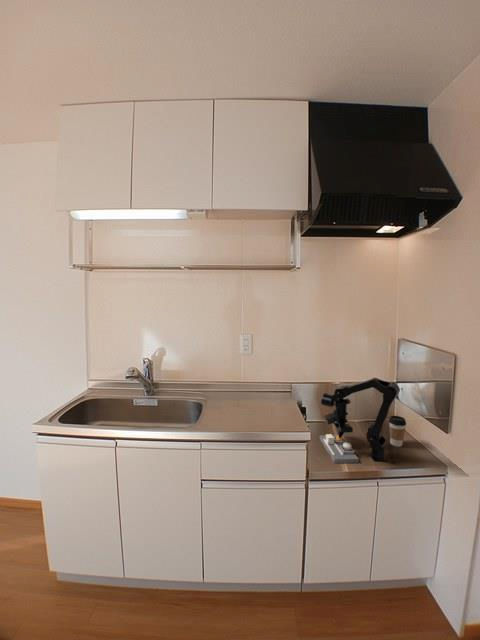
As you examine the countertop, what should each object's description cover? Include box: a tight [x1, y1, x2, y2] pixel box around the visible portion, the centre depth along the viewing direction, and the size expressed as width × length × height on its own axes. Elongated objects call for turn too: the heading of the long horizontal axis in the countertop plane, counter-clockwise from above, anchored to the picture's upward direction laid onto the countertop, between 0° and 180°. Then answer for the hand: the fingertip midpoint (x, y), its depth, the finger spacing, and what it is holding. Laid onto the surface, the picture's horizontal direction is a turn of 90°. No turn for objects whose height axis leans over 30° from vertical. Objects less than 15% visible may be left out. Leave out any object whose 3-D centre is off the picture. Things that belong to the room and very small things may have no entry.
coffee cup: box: [388, 415, 407, 448], centre depth 165 cm, size 8×8×15 cm
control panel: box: [319, 434, 360, 464], centre depth 160 cm, size 24×12×3 cm, turn 2°
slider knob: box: [325, 433, 334, 444], centre depth 163 cm, size 4×3×4 cm
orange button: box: [336, 434, 345, 441], centre depth 165 cm, size 4×4×2 cm
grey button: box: [343, 441, 352, 450], centre depth 154 cm, size 4×4×2 cm
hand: (339, 437), depth 164 cm, fingers closed, pressing on orange button
